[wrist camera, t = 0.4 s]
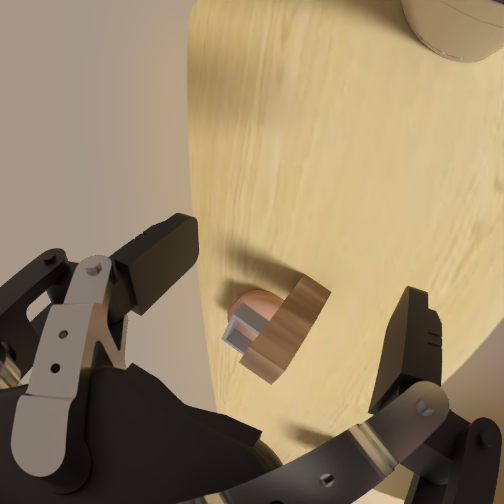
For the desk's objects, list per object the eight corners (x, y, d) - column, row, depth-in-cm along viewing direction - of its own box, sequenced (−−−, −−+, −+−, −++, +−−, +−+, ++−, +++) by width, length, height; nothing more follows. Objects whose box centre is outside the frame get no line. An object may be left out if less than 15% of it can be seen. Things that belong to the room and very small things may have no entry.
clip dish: (250, 277, 41) (227, 299, 37) (310, 318, 39) (293, 346, 35) (231, 317, 48) (211, 338, 43) (282, 353, 45) (265, 377, 41)
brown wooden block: (304, 273, 36) (249, 346, 27) (331, 292, 35) (284, 371, 26) (293, 291, 38) (238, 362, 29) (318, 309, 37) (271, 384, 28)
